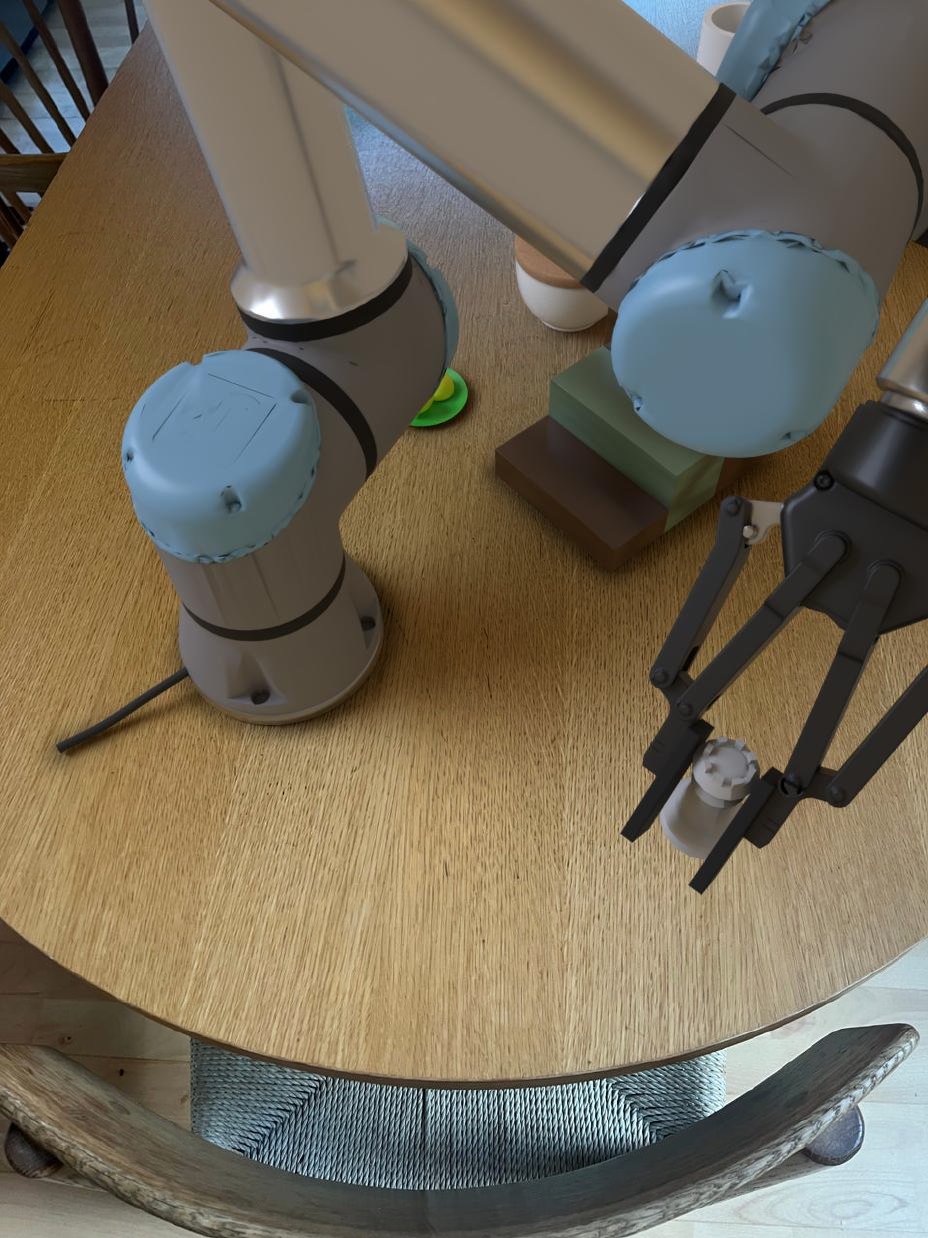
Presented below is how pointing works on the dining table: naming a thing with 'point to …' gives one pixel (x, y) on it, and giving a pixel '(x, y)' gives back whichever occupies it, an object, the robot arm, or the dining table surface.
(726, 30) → the vase
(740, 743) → the rook chess piece
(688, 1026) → the dining table surface
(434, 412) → the green plate with lemons
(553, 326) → the trinket box
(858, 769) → the robot arm
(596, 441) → the step shelf
